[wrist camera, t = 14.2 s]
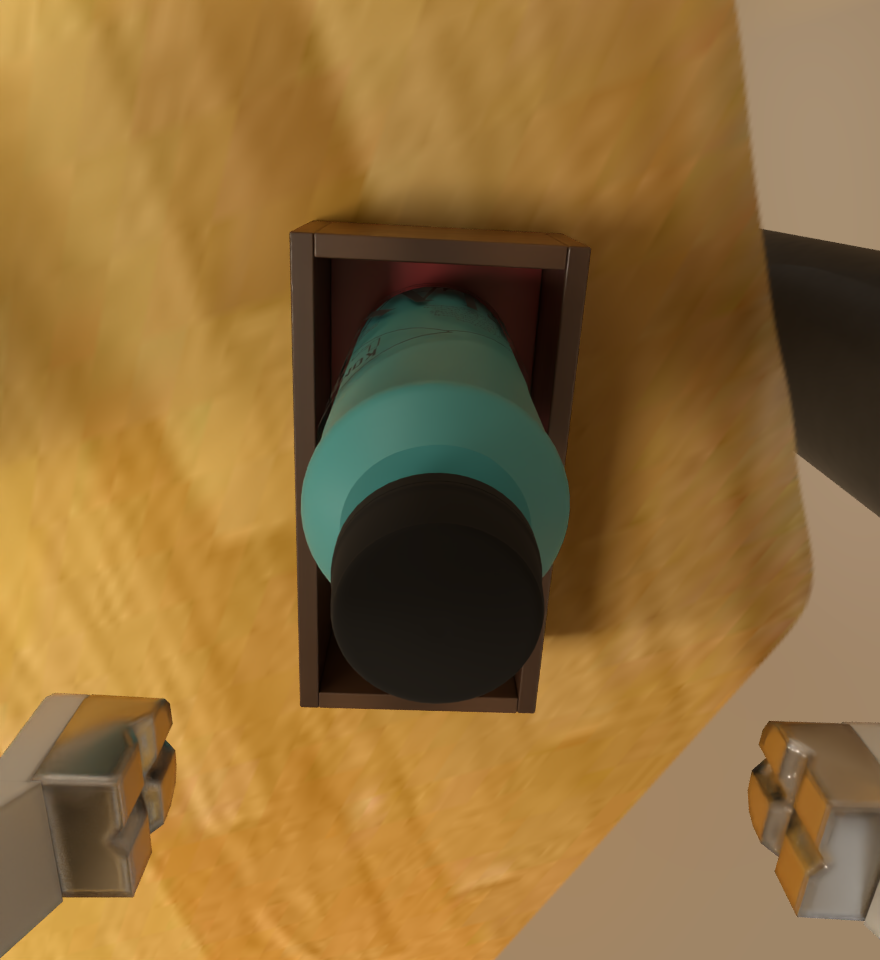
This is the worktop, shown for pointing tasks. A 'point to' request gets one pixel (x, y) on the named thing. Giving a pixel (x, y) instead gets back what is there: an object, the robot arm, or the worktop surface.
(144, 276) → the worktop surface
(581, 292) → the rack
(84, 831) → the robot arm
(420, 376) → the beverage bottle
